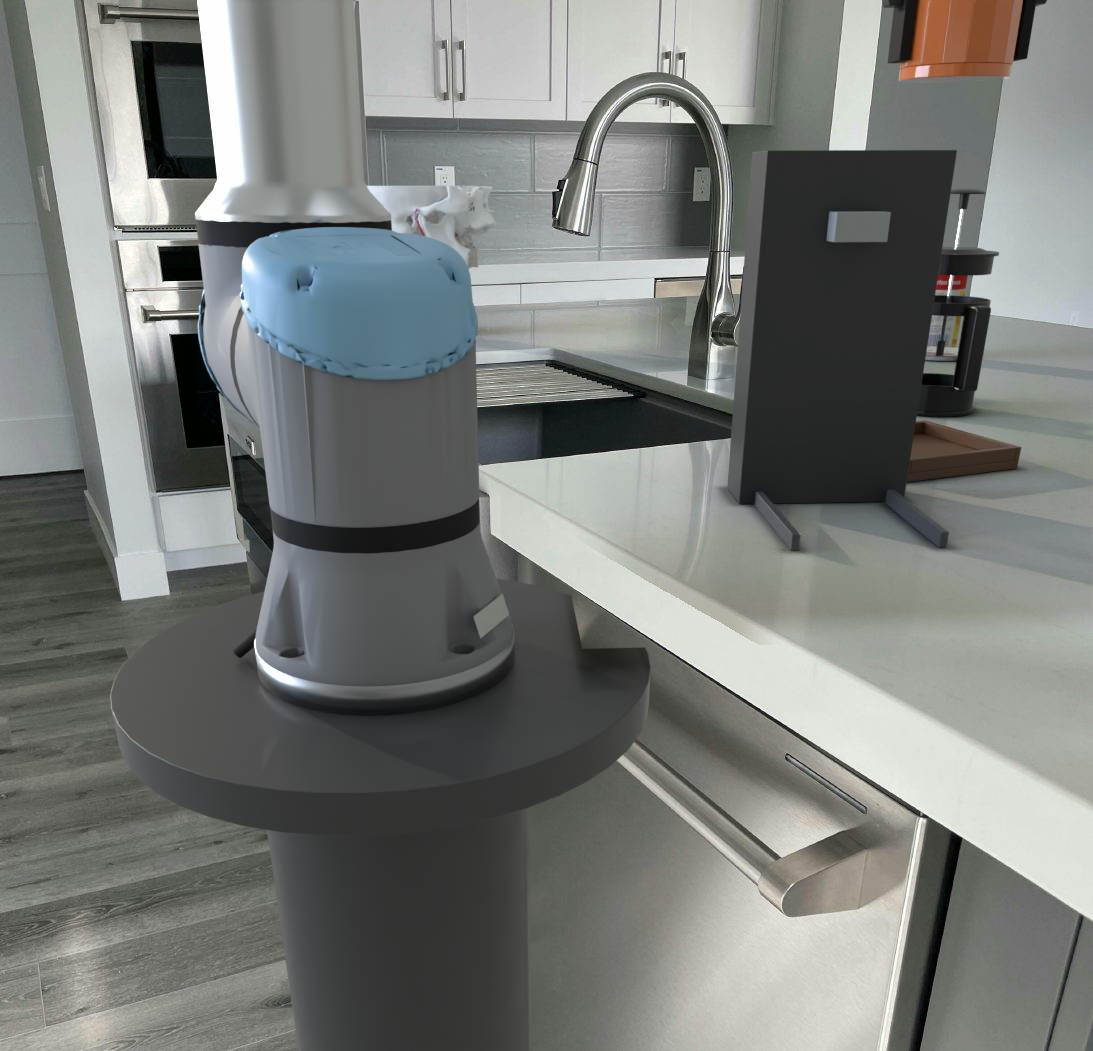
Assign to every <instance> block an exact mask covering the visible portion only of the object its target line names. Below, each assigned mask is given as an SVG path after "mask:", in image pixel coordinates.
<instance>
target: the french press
mask: <svg viewBox="0 0 1093 1051" xmlns="http://www.w3.org/2000/svg"><path fill="white" fill-rule="evenodd" d="M985 194H987V192H986V191H984V190H982V189H977V188H955V189H951V194H950V195H959V198H958V207H957V210H960V212H959V218H958V224H957V231H956V237H955V243H954V246H942V253H941V260H940V266H939V273H938V275H950V281H949V287H948V293H947V295H935V299H934V306H933V312H932V315H935V316H944V319H943V325H942V331H941V338H940V340H939V341H938V342H937V346H927V352H926V358H925V362H932V363H955V368H954V373H953V374H950V373H935V372H923V378H922V384H921V391H920V398H919V404H918V411H917V416H920V417H932V418H933V417H935V418H952V417H962V416H968V415H972V414H973V413H974V410H975V406H974V405H973V404H974V399H975V392H977V391H978V387H979V381H980V375H981V369H982V366H983V364H982V363H983V358H984V353H985V347H986V343H987V342H986V341H987V336H988V330H989V325H990V319H991V313H992V308H991V302H992V299H989V298H985V297H978V296H970V295H969V296H968V295H965V296H953V295H951V290H952V283H953V277H954V275H957V276H988V275H991V274H992V271H993V266H994V259H995V257H999V256H1000V251H993V250H986V249H984V248H981V247H974V246H959V245H960V239H961V233H962V226H963V220H964V215H965V210H968V205H969V201H970V196H971V195H985ZM947 316H961V317H963V319H962V324H961V329H960V337H959V343H958V347H957V346H956V347H945V341H944V334H945V327H946V321H947Z"/></svg>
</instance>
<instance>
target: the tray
mask: <svg viewBox="0 0 1093 1051" xmlns="http://www.w3.org/2000/svg"><path fill="white" fill-rule="evenodd" d="M1021 451H1022V446H1020V445H1016V444H1012V443H1009V442H1005V441H1000V440H997V439H994V438H990V437H987V436H982V435H979V434H975V433H973V432H969V431H965V430H961V429H957V428H953V427H951V426H946V425H942V424H940V423H935V422H932V421H928V420H916V424H915V430H914V437H913V444H912V450H911V457H910V463H909V470H908V476H907V483H913V482H920V481H927V480H928V481H929V480H936V479H944V478H952V477H958V476H959V477H960V476H966V475H975V474H983V473H992V472H999V471H1000V472H1001V471H1006V470H1008V471H1009V470H1016V469H1018V466H1019V462H1020V461H1019V460H1020V456H1021Z"/></svg>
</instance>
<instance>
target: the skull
mask: <svg viewBox="0 0 1093 1051" xmlns="http://www.w3.org/2000/svg"><path fill="white" fill-rule="evenodd" d="M367 187H368V189H369V191H370V192H371V193H372V194H373V195H374V197H375V198H376V199H377V200H378V201H379V202H380V203H381V204H382V205H383V206H384V207H385V209H386V210H387V211H388V212H389V213H390V214H391V223H392V231H395V232H396V233H412V234H418V235H422V236H426V237H429V238H433V239H436V240H438V241H441V242H443V243H445V244H447V245H449V246H451V247H452V248H453V249H455V250H456V251H457V252H458V253H459V254H460V255H461V256H462V258H463V259H464V261H465V263H466V264H467V266H468V269H469V270H470V269H471V268H479V266H480V254H481V253H480V252H481V250H480V249H479V248H478V247H477V246H475V245H474V243H473V236H476V237H479V236H481V235H483V234H487V233H489V231H491V229H494V228H496V227H497V226H498V223H497V221H496V220H495V218H494V215H493V214H494V212H495V210H492V209H490V206H489V196H490V194H491V192H492V191H493V186H487V185H482V186H481V185H480V186H479V185H367Z"/></svg>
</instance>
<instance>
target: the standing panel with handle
mask: <svg viewBox="0 0 1093 1051" xmlns="http://www.w3.org/2000/svg"><path fill="white" fill-rule="evenodd" d="M957 153H958V150H957V149H861V150H860V149H829V150H828V149H826V150H825V149H824V150H823V149H821V150H820V149H817V150H816V149H815V150H814V149H811V150H810V149H808V150H807V149H805V150H804V149H801V150H800V149H799V150H798V149H797V150H796V149H795V150H794V149H793V150H791V149H790V150H788V149H787V150H786V149H785V150H784V149H781V150H778V149H773V150H772V149H771V150H756V151H752V153H751V154H752V156H751V166H750V178H749V179H750V180H749V191H748V192H749V193H748V194H749V195H748V207H747V220H746V232H745V247H744V260H743V272H742V284H741V285H742V286H741V299H740V313H739V324H738V325H739V326H738V337H737V338H738V339H737V340H738V341H737V353H736V365H735V380H734V393H733V406H732V416H731V417H732V418H731V419H732V420H731V431H730V444H729V448H730V449H729V458H728V470H727V471H728V472H727V483H726V484H727V486H726V489H727V490H728V491H729V493H730V494H731V495H732V497H733V498H734V500H735V501H736V502H737V503H738V504H739V505H754V507H755V508H756V509H757V511H758V512H759V513H760V514H761V516H763V518H764V519H765V520H766V522H767V523H768V524H769V525H770V526H771V527H772V529H773V530H774V531H775V532H776V534H777V535H778V537H780V538H781V540H782V541H783V542H784V543H785V545H786V546H787V547H788V548H789V549H790V551H799V550H800V544H801V543H800V542H801V534H800V532H798V530H797V529H796V528H795V527H794V526H793V524H791V522H790V521H789V520H788V519H787V517H785V516H784V514H783V513H782V512H781V511H780V510H779V509H778V507H777V506H776V505H775V504H821V503H822V504H825V503H826V504H829V503H830V504H831V503H833V504H834V503H876V502H877V503H884V504H885V505H887V506H888V507H889V508H890V509H891V510H892V511H893V512H895V513H896V514H897V515H899V516H900V517H901V518H902V519H903V520H905V521H906V522H907V523H908V524H910V525H911V526H912V527H913V528H914V529H915V530H916V531H918V532H919V533H921V534H922V535H923V536H924V537H925V538H927V540H929V541H930V542H931V543H933V544H934V545H935V546H936V547H938V548H939V549H941V548H944V549H945V548H947V546H948V539H949V535H950V531H948V530H947V529H946V528H944V527H943V526H942V525H941V524H939V523H938V522H937V521H935V519H933V518H932V517H930V516H929V515H927V514H926V513H925V511H922V510H921V509H920V508H919V507H918V506H916V505H915V504H913V503H912V502H911V501H909V500H908V499H906V498H905V495H906V489H907V483H908V482H907V476H908V470H909V463H910V457H911V450H912V444H913V437H914V430H915V424H916V421H917V417H918V415H917V411H918V404H919V398H920V391H921V384H922V378H923V373H924V371H925V364H926V361H925V358H926V352H927V345H928V338H929V332H930V325H931V319H932V312H933V306H934V299H935V292H936V286H937V279H938V273H939V266H940V260H941V253H942V247H944V239H945V233H946V226H947V220H948V215H949V214H948V213H949V207H950V200H951V195H952V194H951V190H952V187H953V180H954V173H955V167H956V162H957Z"/></svg>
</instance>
